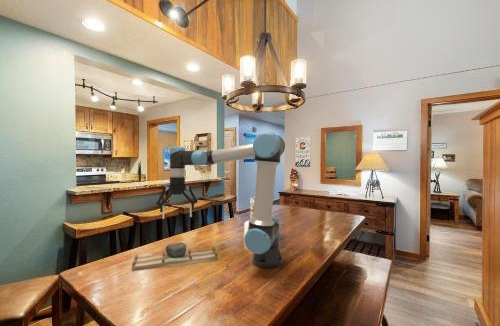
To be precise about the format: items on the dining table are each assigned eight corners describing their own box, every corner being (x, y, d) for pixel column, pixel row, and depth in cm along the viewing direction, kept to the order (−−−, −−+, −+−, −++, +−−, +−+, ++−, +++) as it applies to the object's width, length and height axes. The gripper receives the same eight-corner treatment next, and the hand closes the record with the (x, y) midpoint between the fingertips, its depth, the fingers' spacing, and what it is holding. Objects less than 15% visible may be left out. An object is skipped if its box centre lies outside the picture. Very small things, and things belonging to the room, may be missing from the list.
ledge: (217, 260, 122) (217, 253, 122) (132, 271, 109) (132, 263, 109) (214, 252, 132) (214, 246, 132) (135, 261, 120) (135, 254, 120)
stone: (180, 249, 131) (183, 235, 127) (185, 261, 124) (188, 247, 120) (164, 253, 125) (166, 238, 122) (168, 266, 119) (171, 251, 115)
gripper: (200, 175, 130) (200, 214, 130) (151, 176, 122) (151, 217, 122) (202, 176, 123) (202, 217, 123) (150, 177, 114) (150, 221, 114)
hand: (177, 217), depth 122 cm, fingers open, 13 cm apart
